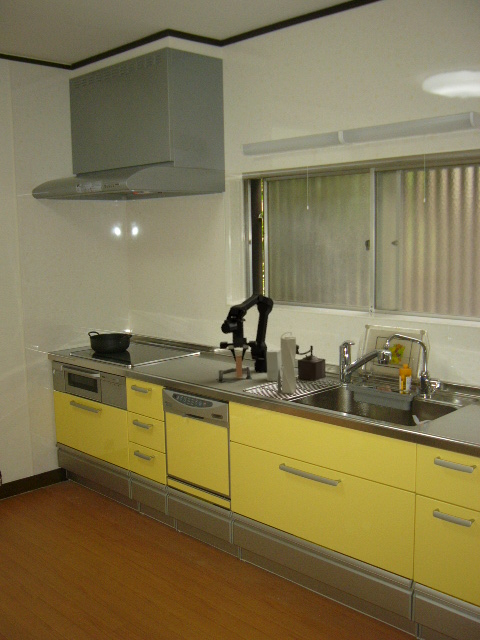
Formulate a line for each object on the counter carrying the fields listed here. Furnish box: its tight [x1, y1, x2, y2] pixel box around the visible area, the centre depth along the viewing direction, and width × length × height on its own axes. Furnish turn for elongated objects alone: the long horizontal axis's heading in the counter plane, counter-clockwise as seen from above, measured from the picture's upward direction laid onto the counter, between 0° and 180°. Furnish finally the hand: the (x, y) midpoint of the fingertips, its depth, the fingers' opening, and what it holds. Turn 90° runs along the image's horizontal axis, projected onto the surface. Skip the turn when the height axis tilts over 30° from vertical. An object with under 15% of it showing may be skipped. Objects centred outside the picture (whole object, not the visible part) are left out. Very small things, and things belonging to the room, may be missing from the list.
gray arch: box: [217, 366, 252, 383], centre depth 336 cm, size 17×9×6 cm, turn 90°
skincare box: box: [266, 349, 283, 382], centre depth 334 cm, size 8×6×15 cm
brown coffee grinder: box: [296, 343, 327, 382], centre depth 334 cm, size 16×11×18 cm
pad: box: [215, 377, 239, 384], centre depth 336 cm, size 5×11×1 cm, turn 45°
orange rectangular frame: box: [235, 354, 243, 379], centre depth 338 cm, size 3×8×10 cm, turn 0°
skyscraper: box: [277, 331, 297, 395], centre depth 308 cm, size 8×8×28 cm
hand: (238, 361), depth 338 cm, fingers closed on orange rectangular frame, 3 cm apart
